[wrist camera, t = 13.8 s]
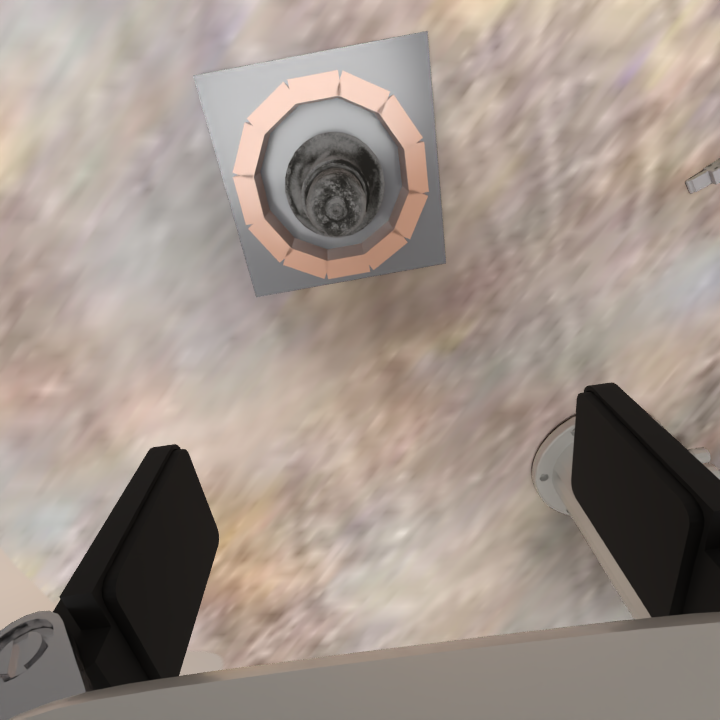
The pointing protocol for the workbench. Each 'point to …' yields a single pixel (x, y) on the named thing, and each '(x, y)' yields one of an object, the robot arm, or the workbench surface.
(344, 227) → the dark flared piece
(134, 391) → the workbench surface
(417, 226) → the shaker holder
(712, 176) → the caliper
